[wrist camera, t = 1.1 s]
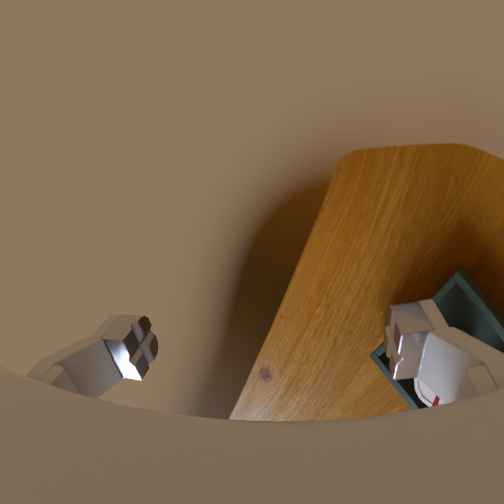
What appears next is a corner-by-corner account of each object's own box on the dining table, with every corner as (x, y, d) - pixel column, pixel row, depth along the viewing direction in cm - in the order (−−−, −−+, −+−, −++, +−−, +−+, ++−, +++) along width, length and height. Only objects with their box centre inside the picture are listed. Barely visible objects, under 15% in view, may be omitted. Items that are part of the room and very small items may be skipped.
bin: (460, 264, 27) (457, 271, 24) (526, 348, 21) (530, 368, 17) (384, 340, 35) (368, 355, 31) (443, 413, 28) (434, 437, 24)
